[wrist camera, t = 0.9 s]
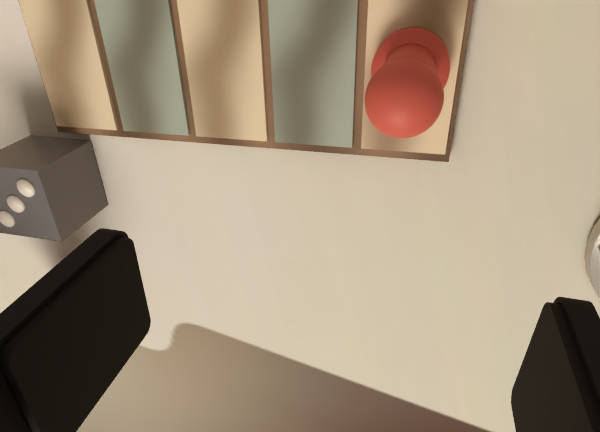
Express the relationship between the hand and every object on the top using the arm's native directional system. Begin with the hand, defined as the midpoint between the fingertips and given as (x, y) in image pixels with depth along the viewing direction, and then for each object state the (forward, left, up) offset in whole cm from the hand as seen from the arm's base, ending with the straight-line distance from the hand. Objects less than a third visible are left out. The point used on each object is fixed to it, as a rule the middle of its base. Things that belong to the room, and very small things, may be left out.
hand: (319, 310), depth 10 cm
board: (+11, -1, -22) cm, 25 cm away
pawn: (-1, -1, -21) cm, 21 cm away
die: (+27, +9, -22) cm, 36 cm away
